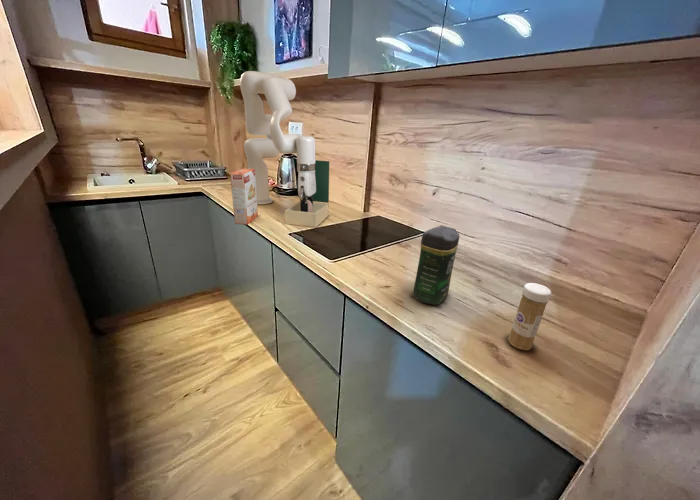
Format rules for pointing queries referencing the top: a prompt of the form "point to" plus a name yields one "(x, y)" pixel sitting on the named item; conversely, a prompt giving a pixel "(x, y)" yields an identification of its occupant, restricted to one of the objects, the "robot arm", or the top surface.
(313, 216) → the book box
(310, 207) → the egg
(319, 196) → the book cover
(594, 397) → the top surface
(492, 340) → the top surface
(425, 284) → the coffee jar
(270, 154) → the robot arm
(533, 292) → the sprinkles bottle
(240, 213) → the cracker box
